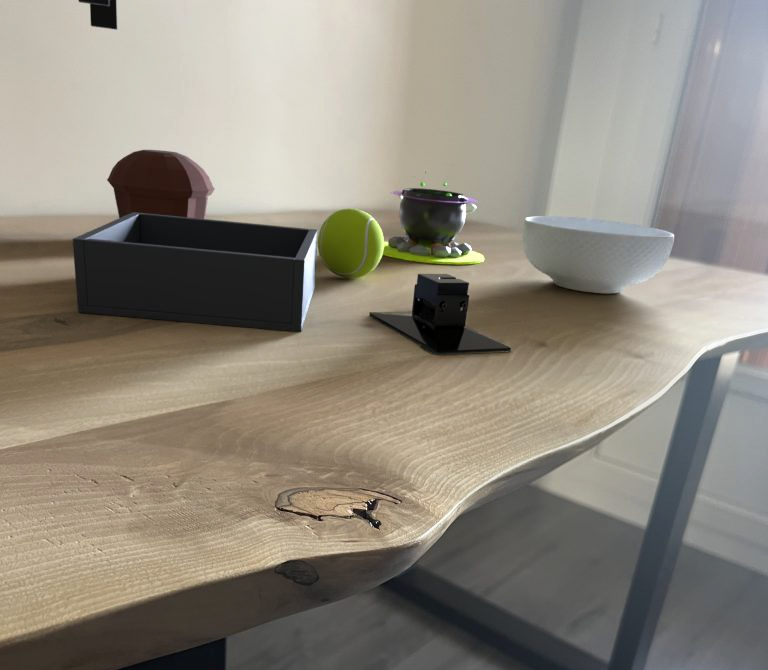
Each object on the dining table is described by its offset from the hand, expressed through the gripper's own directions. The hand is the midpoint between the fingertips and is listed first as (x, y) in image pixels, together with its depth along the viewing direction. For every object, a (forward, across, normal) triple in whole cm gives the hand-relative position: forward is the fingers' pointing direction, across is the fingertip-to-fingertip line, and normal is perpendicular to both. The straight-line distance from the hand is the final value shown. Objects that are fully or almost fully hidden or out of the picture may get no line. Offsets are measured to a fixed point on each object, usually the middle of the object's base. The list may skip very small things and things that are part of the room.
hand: (99, 17), depth 83 cm
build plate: (+25, -33, -29) cm, 51 cm away
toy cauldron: (+21, +8, -40) cm, 46 cm away
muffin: (+22, +3, -6) cm, 23 cm away
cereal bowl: (+23, -10, -54) cm, 60 cm away
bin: (+24, -24, -10) cm, 36 cm away
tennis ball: (+23, -11, -25) cm, 36 cm away
